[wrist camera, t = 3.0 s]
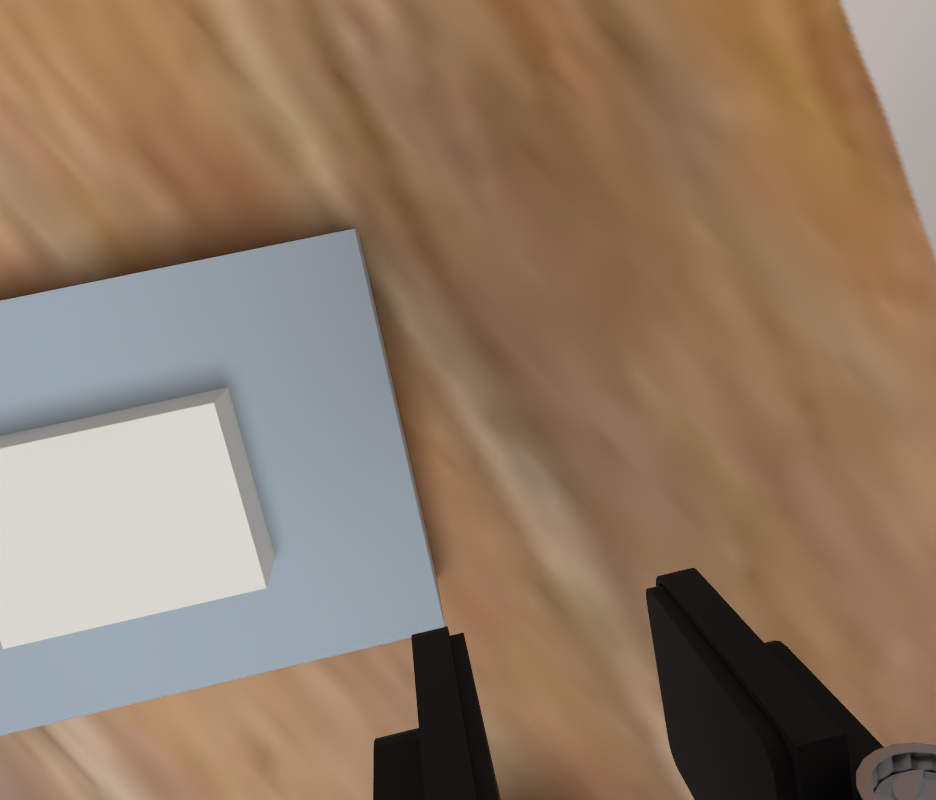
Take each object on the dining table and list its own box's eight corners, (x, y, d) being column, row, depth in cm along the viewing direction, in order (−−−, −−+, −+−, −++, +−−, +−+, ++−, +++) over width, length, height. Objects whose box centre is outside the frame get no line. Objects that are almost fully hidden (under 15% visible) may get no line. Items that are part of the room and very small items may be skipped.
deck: (357, 227, 28) (354, 228, 24) (436, 579, 32) (445, 629, 28) (-280, 357, 27) (-390, 380, 23) (-126, 710, 30) (-201, 783, 26)
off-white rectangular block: (227, 387, 25) (214, 402, 23) (275, 558, 26) (266, 587, 24) (-29, 442, 24) (-68, 463, 22) (34, 613, 26) (3, 649, 24)
